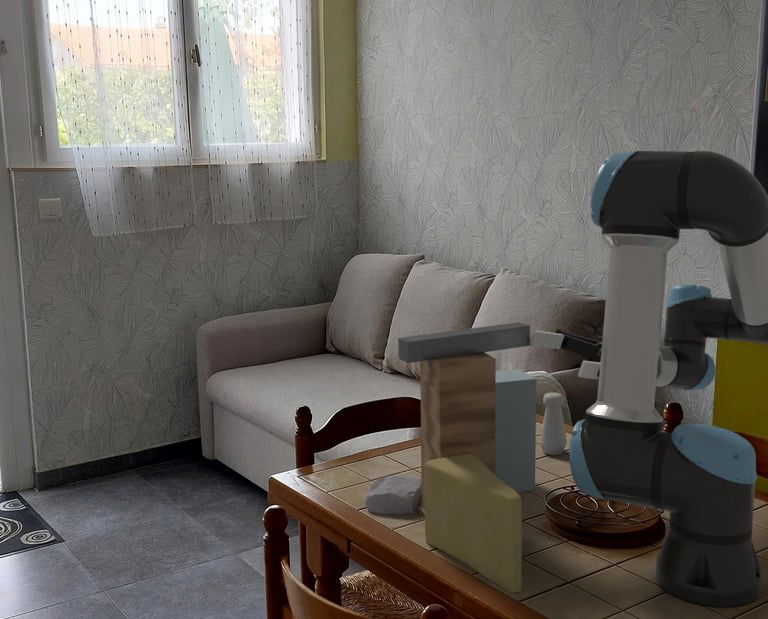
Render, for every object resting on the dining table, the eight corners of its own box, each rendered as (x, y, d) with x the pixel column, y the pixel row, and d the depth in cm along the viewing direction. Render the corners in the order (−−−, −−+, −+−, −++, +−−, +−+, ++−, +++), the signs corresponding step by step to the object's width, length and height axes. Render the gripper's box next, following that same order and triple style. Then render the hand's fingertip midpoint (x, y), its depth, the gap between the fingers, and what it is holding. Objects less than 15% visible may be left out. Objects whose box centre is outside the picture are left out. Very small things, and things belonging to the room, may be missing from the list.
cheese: (545, 588, 137) (547, 494, 134) (489, 602, 133) (489, 505, 130) (473, 532, 157) (474, 449, 154) (423, 542, 153) (422, 458, 150)
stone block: (364, 522, 165) (417, 515, 163) (359, 497, 165) (412, 490, 162) (378, 500, 177) (428, 493, 174) (373, 476, 176) (423, 469, 174)
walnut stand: (498, 527, 157) (499, 359, 152) (439, 536, 154) (437, 364, 149) (474, 503, 168) (474, 345, 162) (418, 511, 165) (416, 350, 159)
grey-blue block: (535, 489, 174) (536, 378, 170) (467, 499, 170) (466, 385, 166) (517, 475, 182) (518, 368, 178) (451, 484, 178) (451, 375, 174)
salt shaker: (570, 450, 195) (571, 392, 193) (560, 458, 191) (561, 399, 188) (545, 446, 199) (546, 388, 196) (534, 454, 194) (535, 395, 191)
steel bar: (530, 345, 160) (530, 325, 160) (408, 363, 151) (407, 342, 150) (519, 341, 163) (519, 322, 163) (398, 358, 154) (398, 338, 153)
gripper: (687, 413, 155) (596, 404, 144) (593, 356, 176) (508, 345, 165) (703, 372, 153) (612, 361, 142) (606, 320, 174) (521, 307, 163)
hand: (555, 352), depth 153 cm, fingers open, 13 cm apart
